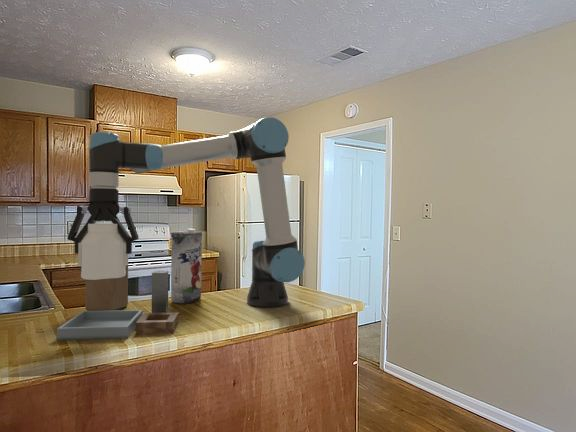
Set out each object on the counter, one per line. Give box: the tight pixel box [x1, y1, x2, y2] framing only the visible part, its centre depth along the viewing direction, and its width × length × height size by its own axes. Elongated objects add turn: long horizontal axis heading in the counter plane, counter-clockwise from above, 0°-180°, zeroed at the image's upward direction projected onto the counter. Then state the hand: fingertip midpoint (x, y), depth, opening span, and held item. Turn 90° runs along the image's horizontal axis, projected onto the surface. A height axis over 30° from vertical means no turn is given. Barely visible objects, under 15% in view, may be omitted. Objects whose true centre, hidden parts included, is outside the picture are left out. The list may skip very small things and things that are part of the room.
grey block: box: [151, 270, 169, 313], centre depth 129 cm, size 4×4×14 cm
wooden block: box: [84, 264, 129, 311], centre depth 135 cm, size 10×10×20 cm
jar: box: [80, 222, 126, 280], centre depth 113 cm, size 12×10×15 cm
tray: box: [56, 309, 144, 341], centre depth 114 cm, size 18×18×3 cm
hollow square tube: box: [135, 312, 179, 334], centre depth 116 cm, size 10×10×3 cm
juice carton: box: [170, 228, 203, 305], centre depth 149 cm, size 9×10×27 cm
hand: (103, 265), depth 113 cm, fingers closed on jar, 11 cm apart
